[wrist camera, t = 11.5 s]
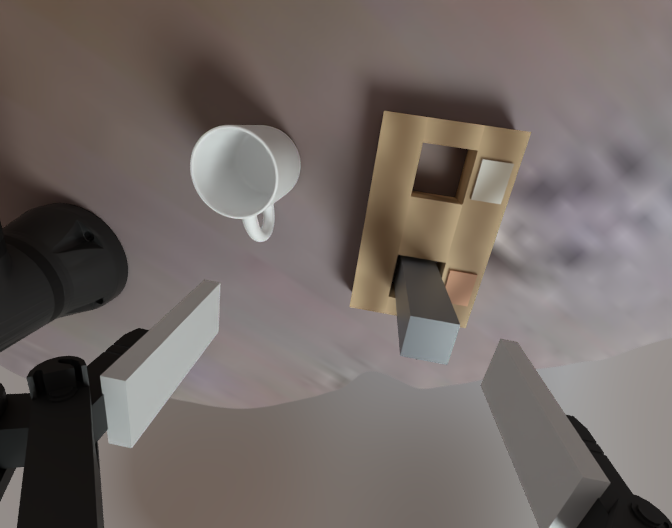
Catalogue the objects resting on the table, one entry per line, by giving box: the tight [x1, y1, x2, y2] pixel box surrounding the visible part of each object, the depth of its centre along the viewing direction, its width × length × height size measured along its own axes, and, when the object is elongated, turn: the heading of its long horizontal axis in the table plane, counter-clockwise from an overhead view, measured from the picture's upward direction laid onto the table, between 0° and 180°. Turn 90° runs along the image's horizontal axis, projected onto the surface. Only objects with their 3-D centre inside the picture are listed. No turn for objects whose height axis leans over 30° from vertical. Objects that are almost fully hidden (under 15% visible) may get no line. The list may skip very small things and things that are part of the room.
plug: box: [394, 255, 460, 365], centre depth 36 cm, size 4×4×16 cm
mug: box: [190, 125, 301, 242], centre depth 36 cm, size 12×8×10 cm
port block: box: [350, 111, 531, 328], centre depth 39 cm, size 14×22×4 cm, turn 172°
